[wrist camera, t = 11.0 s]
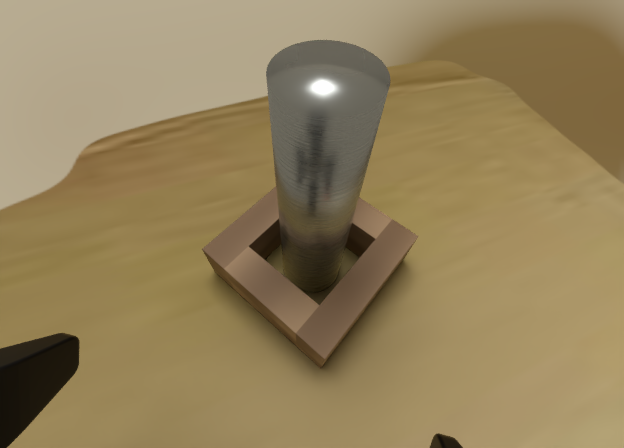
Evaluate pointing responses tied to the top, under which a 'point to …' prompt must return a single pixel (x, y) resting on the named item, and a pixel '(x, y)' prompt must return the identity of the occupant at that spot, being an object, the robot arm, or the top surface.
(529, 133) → the top surface
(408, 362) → the top surface
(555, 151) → the top surface
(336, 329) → the socket block
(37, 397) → the robot arm
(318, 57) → the metal pin
